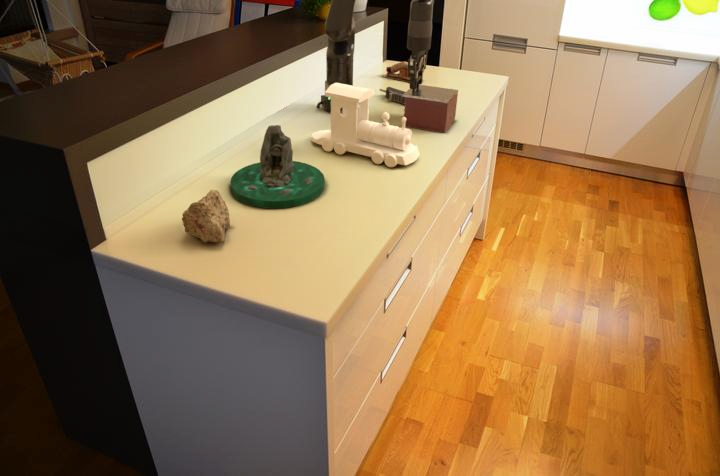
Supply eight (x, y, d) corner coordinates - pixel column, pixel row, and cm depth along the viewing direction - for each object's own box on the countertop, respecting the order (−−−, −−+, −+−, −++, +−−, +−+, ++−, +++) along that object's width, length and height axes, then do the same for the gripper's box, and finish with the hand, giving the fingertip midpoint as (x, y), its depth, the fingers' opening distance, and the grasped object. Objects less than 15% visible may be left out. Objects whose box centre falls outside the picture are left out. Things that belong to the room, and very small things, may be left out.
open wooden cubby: (403, 126, 201) (405, 97, 196) (415, 114, 211) (417, 86, 206) (444, 132, 197) (447, 103, 192) (454, 120, 207) (457, 92, 202)
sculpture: (389, 73, 255) (389, 56, 251) (423, 80, 248) (424, 62, 244) (381, 77, 250) (382, 60, 246) (415, 84, 243) (417, 66, 239)
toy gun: (463, 110, 218) (437, 119, 208) (397, 89, 236) (371, 96, 227) (464, 100, 216) (438, 109, 207) (398, 80, 234) (371, 87, 225)
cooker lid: (402, 96, 196) (404, 79, 193) (415, 86, 207) (416, 69, 204) (447, 103, 192) (449, 85, 189) (457, 92, 202) (459, 75, 199)
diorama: (217, 203, 150) (211, 147, 143) (247, 163, 172) (243, 113, 164) (313, 212, 148) (312, 155, 140) (332, 170, 169) (332, 119, 161)
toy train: (405, 171, 170) (410, 106, 160) (302, 145, 184) (301, 84, 174) (423, 157, 179) (429, 94, 169) (324, 133, 193) (324, 75, 184)
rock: (167, 214, 132) (199, 198, 128) (198, 195, 143) (228, 179, 139) (193, 256, 135) (225, 242, 130) (221, 234, 146) (252, 220, 141)
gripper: (415, 28, 198) (411, 79, 207) (401, 37, 186) (398, 90, 195) (437, 30, 196) (432, 82, 204) (424, 39, 184) (420, 93, 193)
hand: (415, 86), depth 200 cm, fingers closed on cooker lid, 5 cm apart
